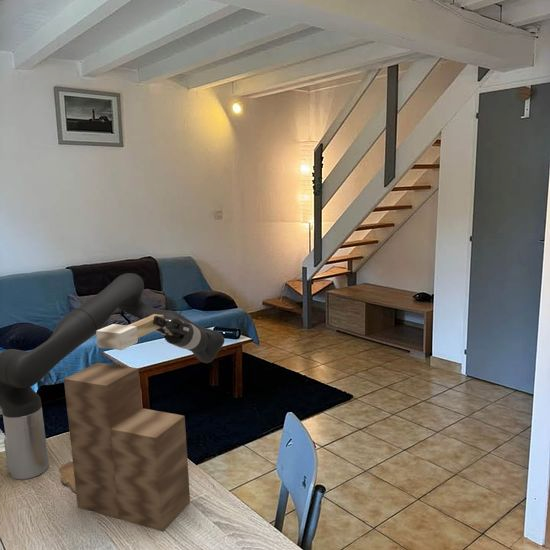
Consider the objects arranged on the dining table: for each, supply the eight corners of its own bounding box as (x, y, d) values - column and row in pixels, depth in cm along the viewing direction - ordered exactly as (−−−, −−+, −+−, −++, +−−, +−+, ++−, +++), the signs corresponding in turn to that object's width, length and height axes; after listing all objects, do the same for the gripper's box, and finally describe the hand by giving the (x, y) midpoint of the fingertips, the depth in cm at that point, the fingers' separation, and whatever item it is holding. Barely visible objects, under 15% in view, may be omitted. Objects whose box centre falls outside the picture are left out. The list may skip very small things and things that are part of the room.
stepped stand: (77, 507, 122) (63, 378, 116) (109, 482, 132) (97, 362, 126) (163, 531, 113) (152, 393, 107) (190, 502, 123) (181, 374, 117)
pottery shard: (65, 498, 127) (64, 492, 126) (57, 468, 140) (56, 462, 140) (98, 488, 130) (98, 482, 130) (87, 460, 144) (87, 454, 144)
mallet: (97, 347, 122) (96, 330, 122) (149, 324, 140) (147, 309, 140) (121, 350, 120) (120, 333, 119) (170, 326, 138) (169, 311, 137)
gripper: (165, 319, 153) (130, 303, 138) (206, 323, 148) (175, 307, 133) (159, 344, 151) (123, 330, 136) (201, 349, 146) (168, 335, 131)
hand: (149, 319), depth 135 cm, fingers closed on mallet, 3 cm apart
